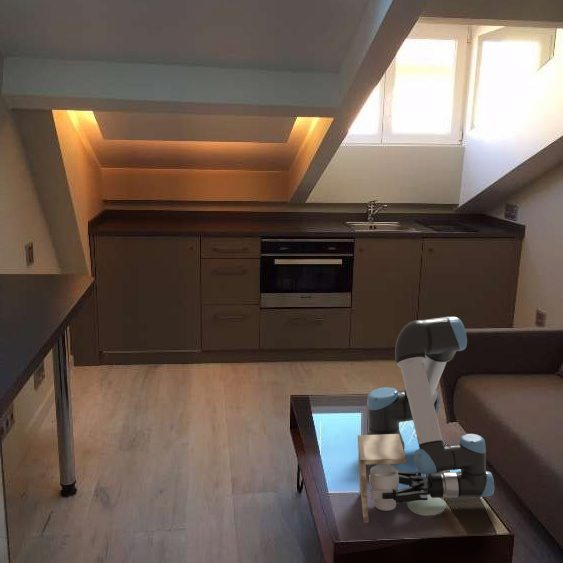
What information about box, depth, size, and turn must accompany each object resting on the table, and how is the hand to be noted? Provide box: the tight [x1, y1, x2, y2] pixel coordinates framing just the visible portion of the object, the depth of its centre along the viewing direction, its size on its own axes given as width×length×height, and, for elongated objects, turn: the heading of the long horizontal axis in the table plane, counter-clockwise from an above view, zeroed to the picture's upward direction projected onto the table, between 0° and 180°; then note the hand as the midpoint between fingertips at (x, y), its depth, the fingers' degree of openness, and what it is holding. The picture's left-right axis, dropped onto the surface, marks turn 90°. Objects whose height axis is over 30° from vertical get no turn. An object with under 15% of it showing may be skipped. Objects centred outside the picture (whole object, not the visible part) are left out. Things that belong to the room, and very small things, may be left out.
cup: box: [369, 464, 399, 511], centre depth 197 cm, size 9×9×12 cm
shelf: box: [357, 434, 407, 524], centre depth 197 cm, size 14×18×20 cm
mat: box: [407, 494, 447, 517], centre depth 197 cm, size 12×12×1 cm
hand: (370, 486), depth 198 cm, fingers closed on cup, 9 cm apart
